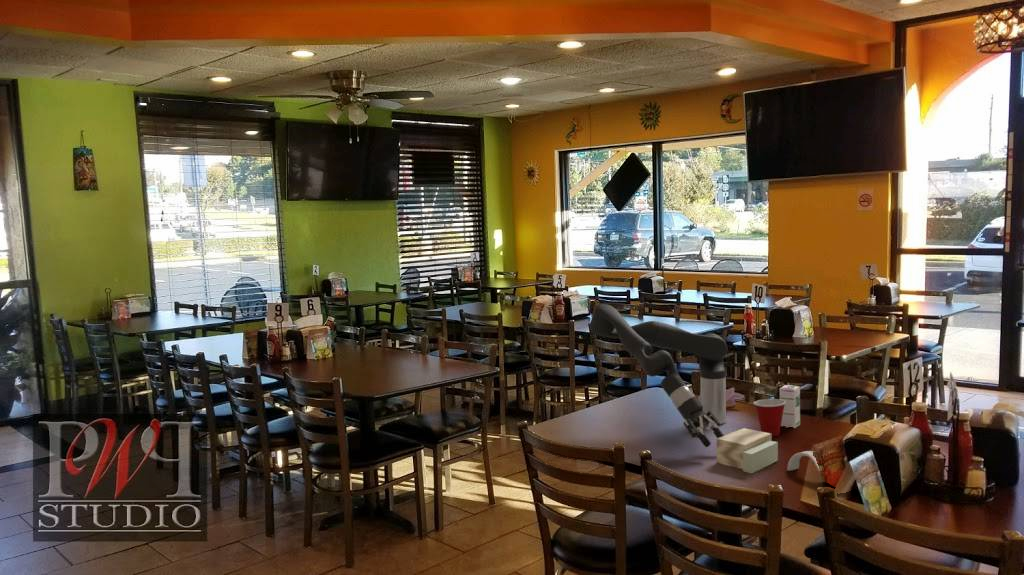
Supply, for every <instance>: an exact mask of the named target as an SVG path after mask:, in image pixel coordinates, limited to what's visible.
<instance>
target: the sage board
mask: <svg viewBox="0 0 1024 575" xmlns="http://www.w3.org/2000/svg"><path fill="white" fill-rule="evenodd" d="M778 446H779V442H778V441H773V440H772V441H767V442H764V443H762V444H760V445H758V446H755V447H753V448H751V449H749V450H747V451H744V452H743V469H742V472H745V473H749V474H753V473H756V472H758V471H760V470H762V469H764V468H766V467H768V466H770V465H772V464H774V463H775V462H777V461H779V458H778V457H779V453H778V452H779V447H778Z"/></svg>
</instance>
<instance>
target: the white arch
mask: <svg viewBox="0 0 1024 575" xmlns="http://www.w3.org/2000/svg"><path fill="white" fill-rule="evenodd" d="M813 452H814V451H813V450H806V451H805V450H804V451H802V452H797V453H794V455H791V457H790V459H789V461H788V463H787V468H786V470H787V471H789V472H790V471H795V470H798V469H799V468H800V461H801V458H802V457H808V458H810V459H811V460H812V461H813V463H814V464H815V467H816V470H818V472H819V471H820V469H819V466H818V464H817V461H816V458H815V457H814V456H813Z"/></svg>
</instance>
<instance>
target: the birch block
mask: <svg viewBox="0 0 1024 575" xmlns="http://www.w3.org/2000/svg"><path fill="white" fill-rule="evenodd" d="M772 438H773V437H772V434H770V433H766V432H761V430H756V429H755V430H754V429H751V428H750V429H749V428H744V427H743V428H741V429H737V430H735V431H732V432H730V433H727V434H724V436H722V437H720V438H717V437H716V463H717V464H719V465H721V464H722V465H725V466H729V467H733V468H736V469H737V468H738V469H740V470H743V452H744V451H747V450H749V449H751V448H753V447H755V446H758V445H760V444H762V443H764V442H767V441H773V440H772Z"/></svg>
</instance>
